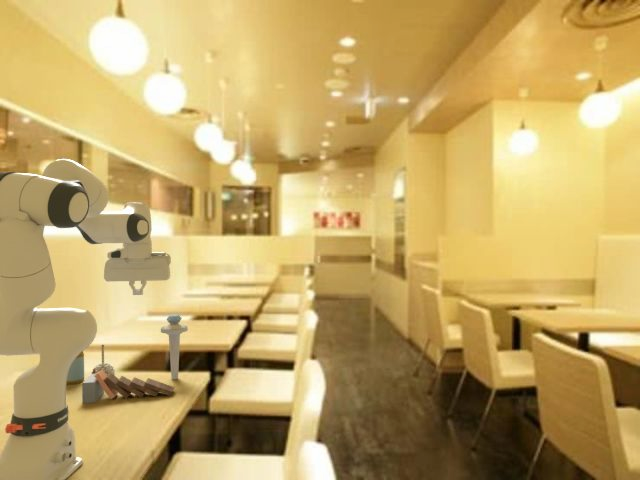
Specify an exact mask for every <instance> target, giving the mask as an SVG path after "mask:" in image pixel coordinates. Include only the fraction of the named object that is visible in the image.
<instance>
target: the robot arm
mask: <svg viewBox="0 0 640 480" xmlns="http://www.w3.org/2000/svg"><path fill="white" fill-rule="evenodd" d="M109 194H110V193H109V191H108V188H107V186H106V185H105V183H104V182H103V181H102V180H101V179H100V178H98V176H96V174H94V173H93V172H92V171H90V170H89V169H88V168H87V167H84V166H83V165H81V164H80V163H78V162H76V161H74V160H71V159H67V158H62V159H61V158H60V159H55V160H54V161H51V162H50V163H49V164H48V165H47V166H46V167H45V168H44V169H43V172H42V175H41V174H33V173H21V172H17V171H3V172H0V356H7V357H8V356H9V357H10V356H28V355H29V356H30V355H39V363H38V364H37V365H35V366H33V367H32V368H30V369H27V370H26V371H24V372H23V373H21V374H20V375H19V376H18V377H17V378H16V379H15V381H14V383H13V413H12V414H11V415H12V416H11V419H10V423H7V424H6V426H5V428H4V429H5V433H6V434H9V435H8V438H7V440H6V442H5V445H4V446H3V449H2V451H1V454H0V480H66V479H67V478H68V477H70V476H71V475H72V474H73V473H74V472H75V471H76V470H78V469H79V467H81V466H82V465H83V463H84V461H83V458H82V457H80V456H77V444H76V443H77V442H76V432H75V430H74V428H72V427H71V426H70V424H69V423H68V421H69V415H70V413H69V407H68V404H67V385H68V384H67V376H68V372H69V369H70V367H71V365H72V363H73V361H74V360H75V359H76V357H77V356H78V355H79V354H80V353H81V352H82V351H83V352H84V351H85V350H86V349H88V348H89V347H90V346H91V344H93V342H94V341H95V338H96V336H97V331H98V325H97V321H96V318H95V316H94V315H93V314H92V312H90V311H89V310H87V309H81V308H75V307H49V308H47V307H44V308H43V307H42V308H41V307H38V306H40V305H42V304H44V303H45V302H46V301H47V300H49V299H50V297H52V295H53V294H54V293H55V289H56V278H55V274H54V269H53V265H52V264H53V263H52V259H51V256H50V252H49V248H48V244H47V243H46V239H45V237H44V231H45V226H46V227H56V228H57V229H70V228H71V229H73V228H76V229H78V231H79V232H80V234H81V236H82V238H83V239H84V240H85V241H86V242H87V243H89V244H90V245H99V244H122V248H117V249H115V250H112V251H109V252H107V255H106V256H107V259H108V260H106V261H105V264H104V268H103V269H104V270H103V279H104V280H105V282H128V285H129V287H130V288H131V290H132V295H133V296H142V295H144V288H145V287H146V285H147V282H148V281H149V282H150V281H151V282H152V281H153V282H154V281H156V282H157V281H168V280H169V279H170V278H171V269H170V264H171V263H172V262H171V255H170V254H168V253H166V252H164V251H163V252H158V251H157V252H156V251H155V252H154V251H153V248H152V247H153V245H152V244H153V243H152V238H151V233H152V215H151V210H150V206H149V205H148V204H146V203H144V202H139V201H130V202H126V203H125V204H124V206H123V210H121V211H104V210H105V209H106V208H107V205H108V203H109V196H110V195H109ZM136 282H140V285H141V287H140V288H136V287H135V284H136Z"/></svg>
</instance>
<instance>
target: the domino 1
mask: <svg viewBox="0 0 640 480" xmlns="http://www.w3.org/2000/svg"><path fill="white" fill-rule="evenodd" d="M94 377H95V378H96V379H97V381H98V382H99V384H100V385H101V387H102V388H103V389H104V393H106V395H107V397H108V398H109V399H110V400H112V399H114V398H116V396H117V395H118V394H119V393H118V392H117V391H116V390H115V389H113V388H112V387H111V386H110V385H108V384H107V383H106V382H105V381H103V380H104V379H105V378H106V377H107V375H106V373H105V372H104V370H103V369H102V370H101V371H99V372H98V373H97V374H96V375H94Z"/></svg>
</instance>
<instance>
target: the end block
mask: <svg viewBox="0 0 640 480" xmlns="http://www.w3.org/2000/svg"><path fill="white" fill-rule="evenodd" d="M94 375H96V374H92V373H91V374H90V375H89V376H88V377H86V379H84V380H83V381H82V382H81V385H82V386H81V391H82V392H81V393H82V394H81V395H82V396H81V397H82V400H81V401H82V404H96V402H97V401H99V399H100V398H101V397H102V396H103V395H104V393H105V391H104V389H103V388H102V387H101V385H100V384H99V382H98V381H97V379H96V378H95V377H94Z"/></svg>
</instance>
